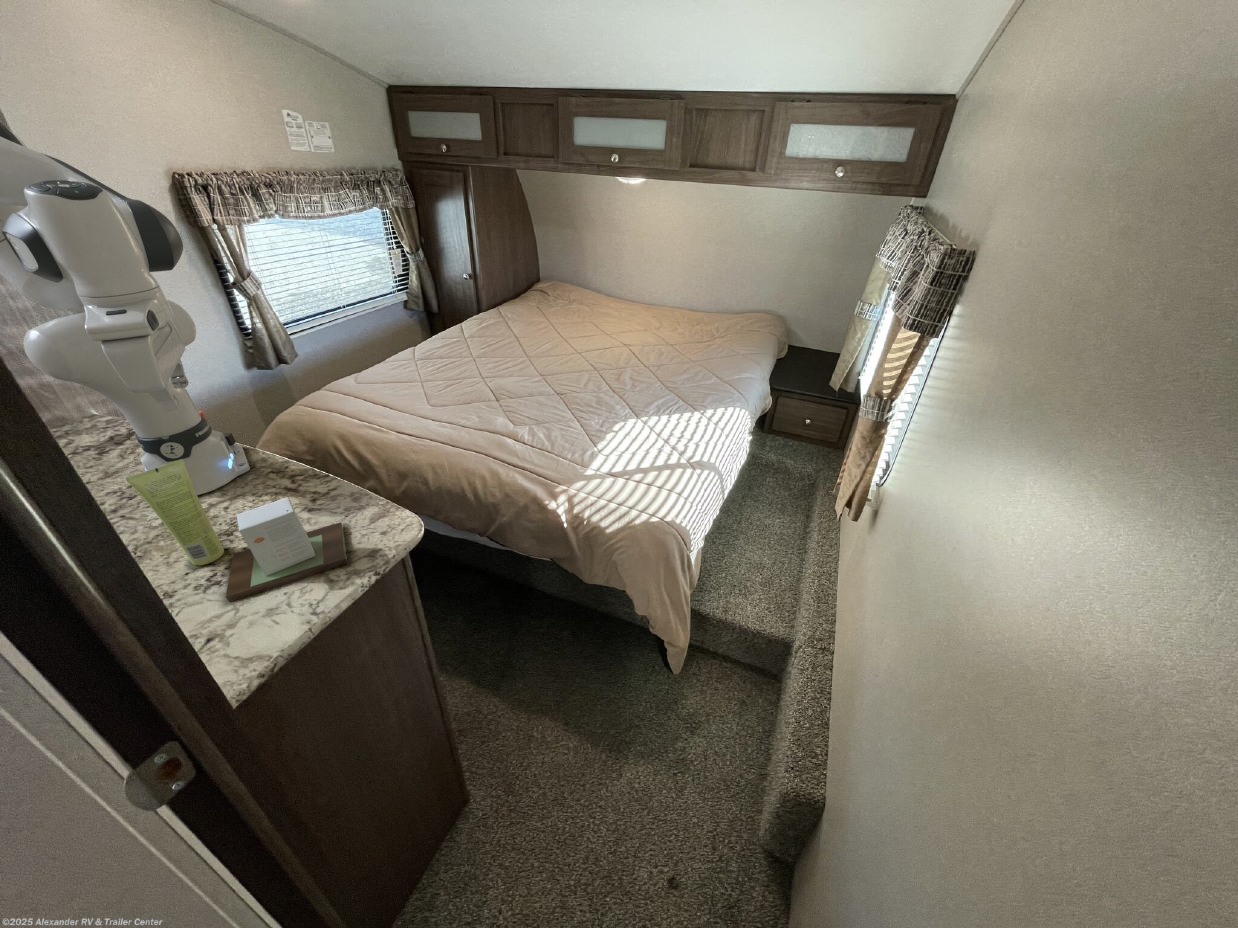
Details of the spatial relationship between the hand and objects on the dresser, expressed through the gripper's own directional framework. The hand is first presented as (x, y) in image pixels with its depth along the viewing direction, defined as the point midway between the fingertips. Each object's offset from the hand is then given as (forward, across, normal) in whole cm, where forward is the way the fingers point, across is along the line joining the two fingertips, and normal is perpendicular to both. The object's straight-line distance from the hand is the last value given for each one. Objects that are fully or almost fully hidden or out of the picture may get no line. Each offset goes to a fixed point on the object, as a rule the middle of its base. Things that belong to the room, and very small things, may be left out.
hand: (177, 397), depth 78 cm
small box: (+28, +12, +7) cm, 32 cm away
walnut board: (+30, +11, +6) cm, 32 cm away
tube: (+30, +2, -7) cm, 31 cm away
